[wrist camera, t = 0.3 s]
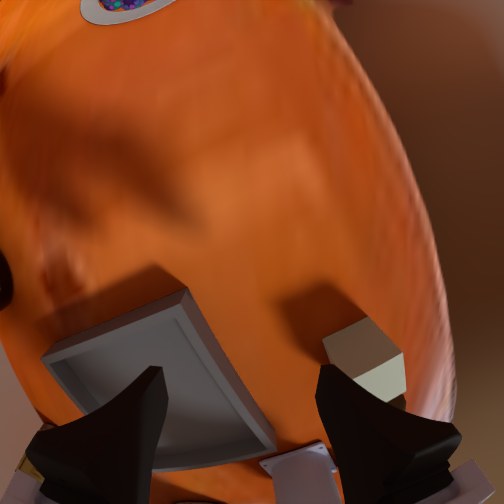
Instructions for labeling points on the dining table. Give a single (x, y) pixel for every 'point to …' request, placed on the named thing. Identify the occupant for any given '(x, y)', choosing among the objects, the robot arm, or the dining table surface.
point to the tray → (168, 382)
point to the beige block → (368, 358)
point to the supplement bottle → (5, 284)
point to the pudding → (102, 17)
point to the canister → (193, 503)
